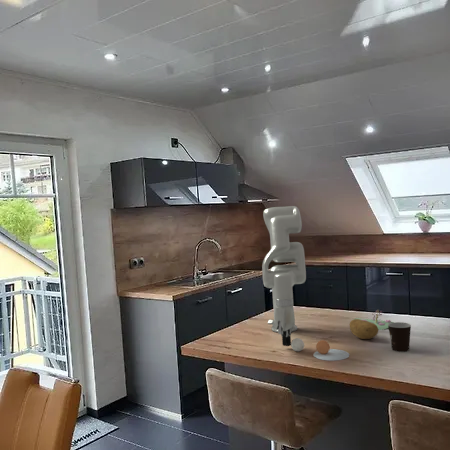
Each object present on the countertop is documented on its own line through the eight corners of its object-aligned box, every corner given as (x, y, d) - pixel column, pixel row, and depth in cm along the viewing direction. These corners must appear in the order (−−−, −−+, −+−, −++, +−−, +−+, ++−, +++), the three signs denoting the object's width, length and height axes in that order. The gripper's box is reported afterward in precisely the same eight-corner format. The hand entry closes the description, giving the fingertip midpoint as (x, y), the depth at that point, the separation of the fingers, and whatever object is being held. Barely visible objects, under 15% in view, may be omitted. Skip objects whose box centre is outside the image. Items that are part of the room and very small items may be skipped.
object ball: (316, 339, 191) (328, 347, 188) (322, 336, 195) (333, 343, 193) (311, 350, 193) (323, 358, 190) (317, 347, 197) (328, 354, 194)
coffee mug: (409, 353, 186) (408, 328, 186) (387, 351, 190) (385, 326, 190) (415, 345, 196) (414, 321, 195) (393, 343, 200) (392, 319, 200)
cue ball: (297, 341, 194) (301, 353, 194) (304, 335, 198) (308, 348, 198) (286, 341, 198) (290, 353, 198) (294, 336, 202) (297, 348, 202)
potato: (369, 344, 202) (368, 325, 201) (344, 337, 214) (343, 319, 213) (385, 339, 207) (384, 321, 206) (360, 333, 219) (359, 316, 218)
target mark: (307, 357, 189) (307, 357, 189) (322, 347, 200) (322, 347, 200) (341, 362, 181) (341, 362, 181) (354, 352, 192) (354, 351, 192)
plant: (337, 324, 239) (336, 306, 239) (364, 317, 251) (363, 300, 250) (378, 333, 219) (377, 314, 218) (406, 325, 230) (405, 306, 230)
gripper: (284, 298, 210) (287, 339, 211) (267, 305, 198) (270, 349, 198) (300, 299, 205) (302, 341, 206) (283, 306, 193) (286, 351, 194)
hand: (286, 345), depth 202 cm, fingers closed
